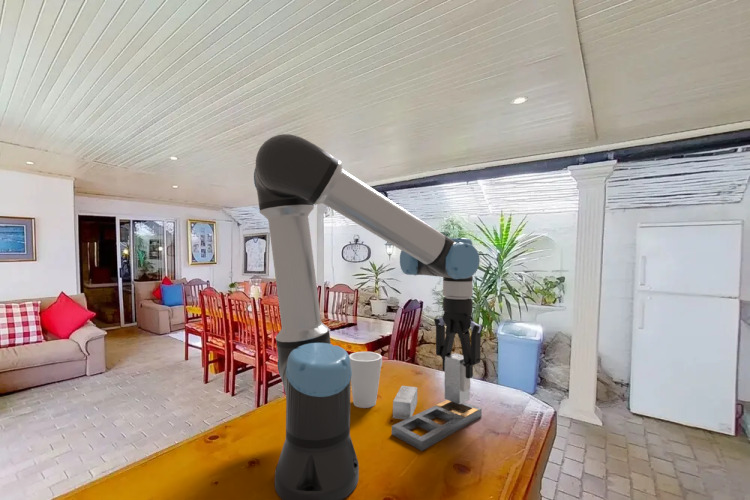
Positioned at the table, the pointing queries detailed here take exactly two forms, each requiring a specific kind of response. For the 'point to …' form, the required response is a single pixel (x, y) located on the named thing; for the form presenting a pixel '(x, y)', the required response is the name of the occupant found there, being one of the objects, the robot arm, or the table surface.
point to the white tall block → (454, 379)
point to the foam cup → (365, 378)
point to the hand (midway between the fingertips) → (457, 386)
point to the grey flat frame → (445, 410)
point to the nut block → (405, 402)
